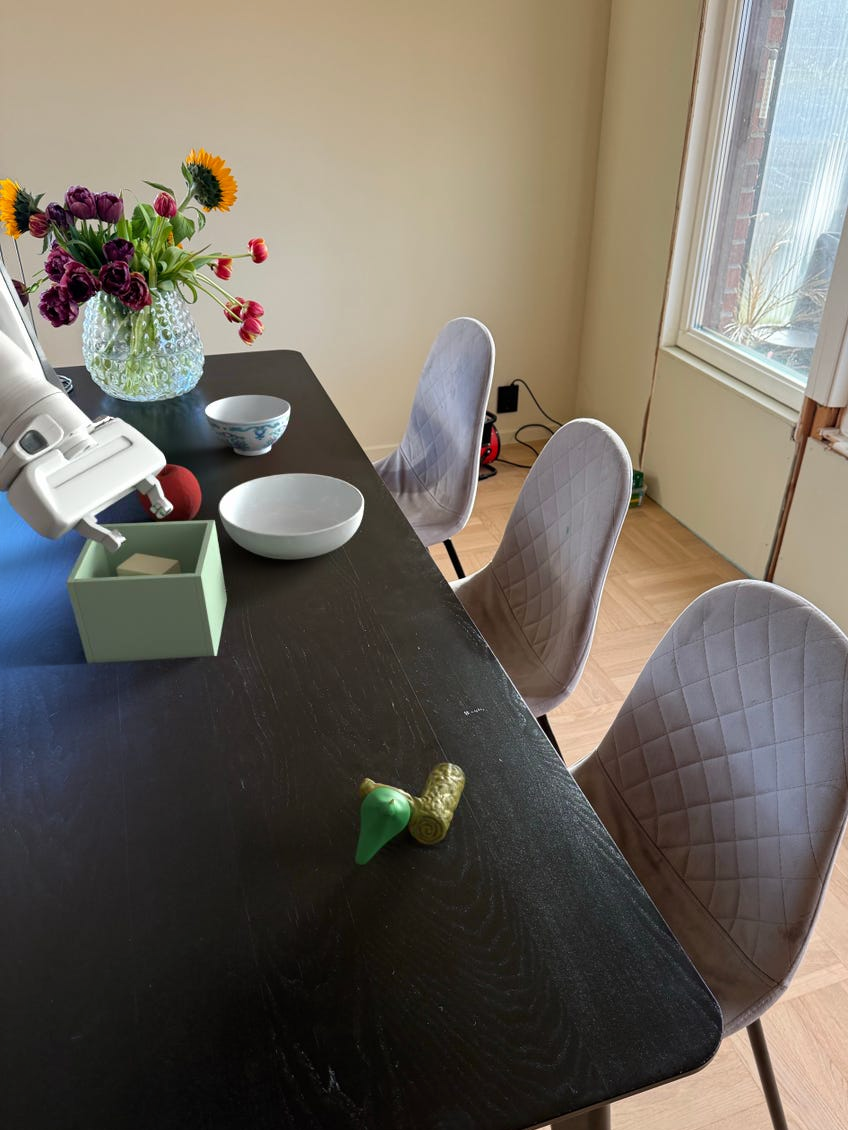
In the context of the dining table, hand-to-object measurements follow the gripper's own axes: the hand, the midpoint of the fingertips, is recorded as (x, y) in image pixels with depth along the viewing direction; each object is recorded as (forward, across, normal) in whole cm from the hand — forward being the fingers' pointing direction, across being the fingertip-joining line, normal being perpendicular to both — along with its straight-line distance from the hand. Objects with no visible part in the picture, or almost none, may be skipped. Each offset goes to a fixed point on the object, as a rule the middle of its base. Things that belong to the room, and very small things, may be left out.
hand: (144, 530), depth 103 cm
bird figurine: (+40, +24, +20) cm, 51 cm away
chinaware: (-4, -60, -24) cm, 64 cm away
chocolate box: (+9, 0, -10) cm, 14 cm away
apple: (-2, -29, -22) cm, 37 cm away
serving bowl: (+13, -28, -7) cm, 32 cm away
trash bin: (+10, 0, -11) cm, 14 cm away
